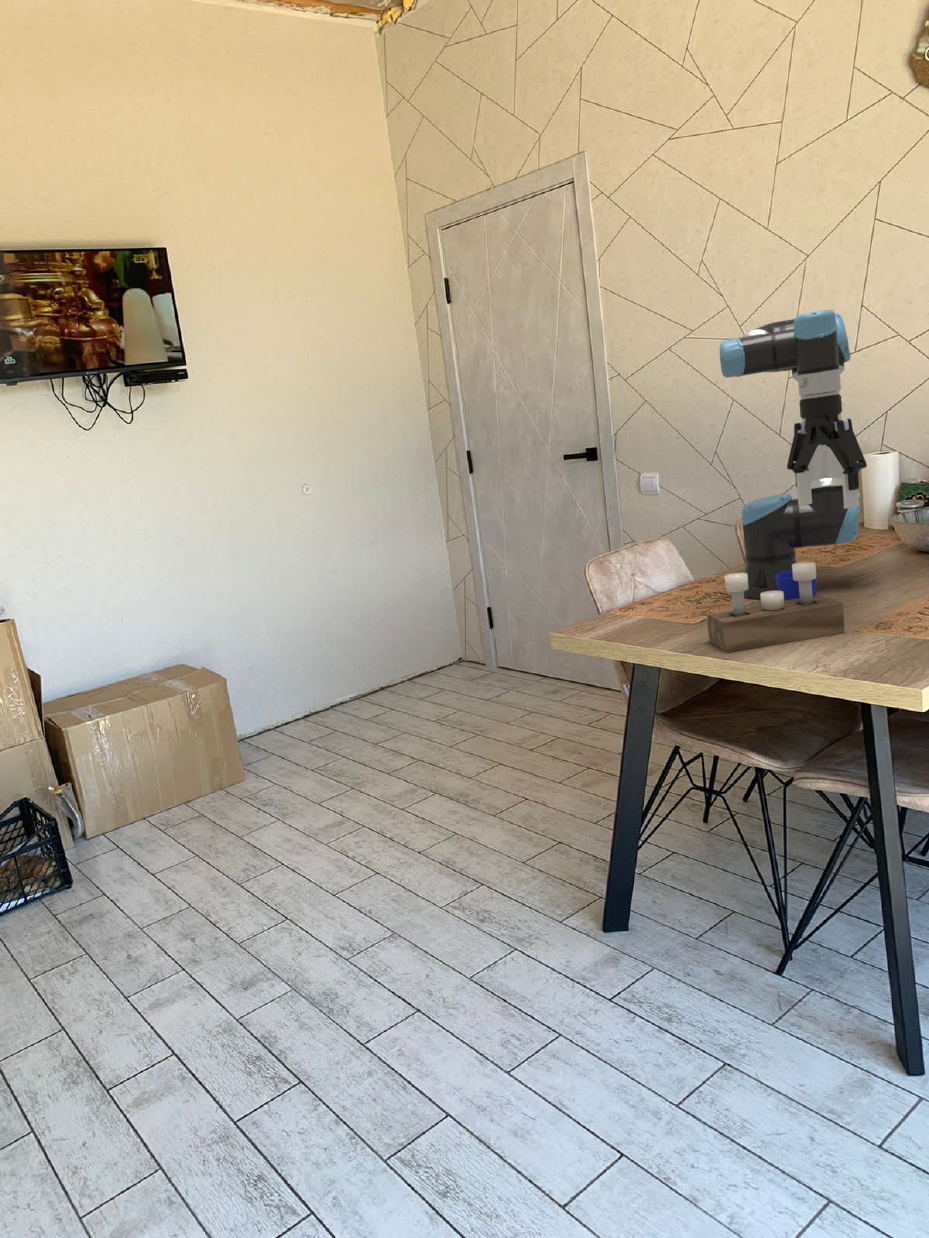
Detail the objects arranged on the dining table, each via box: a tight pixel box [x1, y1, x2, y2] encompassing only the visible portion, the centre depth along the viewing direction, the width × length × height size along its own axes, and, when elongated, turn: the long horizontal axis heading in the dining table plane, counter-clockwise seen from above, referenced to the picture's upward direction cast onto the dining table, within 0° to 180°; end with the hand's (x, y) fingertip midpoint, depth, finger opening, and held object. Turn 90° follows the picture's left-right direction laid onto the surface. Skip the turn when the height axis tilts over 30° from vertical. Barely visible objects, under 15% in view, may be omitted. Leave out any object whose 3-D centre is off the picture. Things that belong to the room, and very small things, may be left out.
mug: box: [775, 571, 817, 601], centre depth 201 cm, size 8×12×10 cm
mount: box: [706, 594, 845, 653], centre depth 188 cm, size 10×24×6 cm, turn 96°
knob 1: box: [723, 572, 749, 617], centre depth 186 cm, size 4×4×9 cm
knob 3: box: [792, 561, 817, 606], centre depth 187 cm, size 4×4×9 cm
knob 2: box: [760, 591, 785, 611], centre depth 188 cm, size 4×4×9 cm
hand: (827, 506), depth 183 cm, fingers open, 13 cm apart
